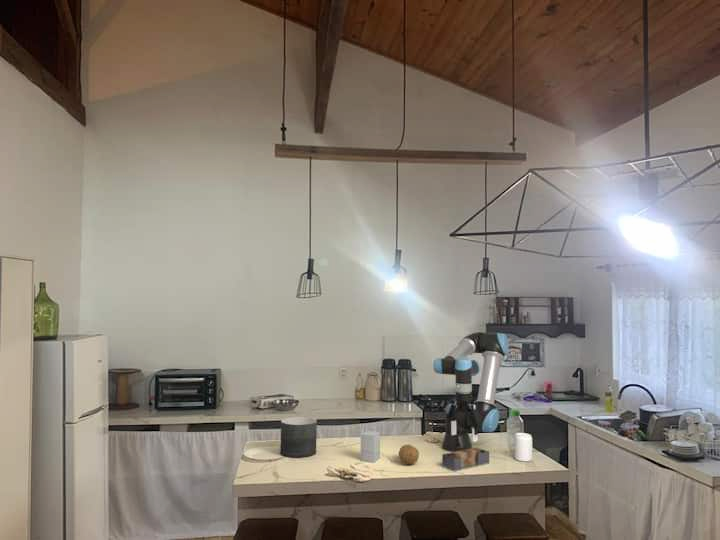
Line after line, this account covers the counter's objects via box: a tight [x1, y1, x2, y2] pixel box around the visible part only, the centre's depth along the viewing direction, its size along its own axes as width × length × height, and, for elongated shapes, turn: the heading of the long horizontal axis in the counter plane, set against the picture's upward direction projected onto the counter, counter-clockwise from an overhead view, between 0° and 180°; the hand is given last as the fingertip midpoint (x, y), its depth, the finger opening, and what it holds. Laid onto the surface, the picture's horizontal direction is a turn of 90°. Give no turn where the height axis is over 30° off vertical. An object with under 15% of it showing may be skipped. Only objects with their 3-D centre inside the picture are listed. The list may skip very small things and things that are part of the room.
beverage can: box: [514, 432, 533, 463], centre depth 256 cm, size 8×8×12 cm
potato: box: [398, 444, 420, 465], centre depth 249 cm, size 10×14×8 cm
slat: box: [449, 447, 482, 467], centre depth 246 cm, size 16×4×6 cm, turn 124°
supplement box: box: [360, 430, 381, 463], centre depth 254 cm, size 7×7×13 cm
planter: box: [280, 416, 318, 459], centre depth 264 cm, size 18×18×16 cm
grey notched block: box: [441, 447, 490, 473], centre depth 247 cm, size 22×8×6 cm, turn 124°
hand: (464, 438), depth 247 cm, fingers open, 13 cm apart
